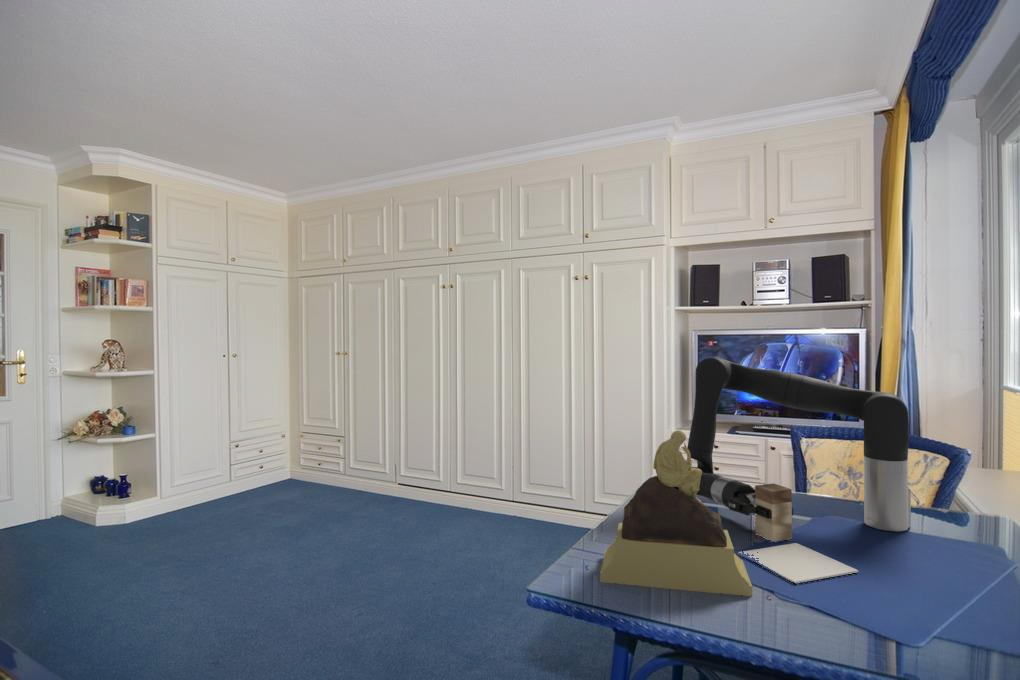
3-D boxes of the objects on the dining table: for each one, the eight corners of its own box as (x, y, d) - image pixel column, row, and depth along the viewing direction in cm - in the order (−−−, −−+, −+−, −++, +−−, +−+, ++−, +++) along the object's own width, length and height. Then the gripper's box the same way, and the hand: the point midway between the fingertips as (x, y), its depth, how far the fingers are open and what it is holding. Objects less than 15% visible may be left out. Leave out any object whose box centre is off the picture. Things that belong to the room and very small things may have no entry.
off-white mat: (796, 545, 130) (796, 542, 130) (858, 573, 115) (858, 570, 115) (738, 554, 125) (738, 552, 125) (795, 584, 110) (795, 581, 110)
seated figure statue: (742, 569, 118) (740, 425, 118) (752, 597, 106) (750, 436, 105) (605, 557, 125) (604, 422, 125) (600, 582, 113) (598, 432, 112)
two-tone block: (774, 532, 139) (773, 483, 139) (792, 539, 134) (791, 489, 134) (755, 534, 138) (755, 485, 137) (772, 542, 132) (772, 491, 132)
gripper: (709, 482, 147) (756, 500, 131) (755, 477, 151) (805, 494, 135) (709, 511, 147) (756, 532, 131) (755, 505, 151) (805, 525, 135)
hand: (781, 513), depth 133 cm, fingers closed on two-tone block, 5 cm apart
